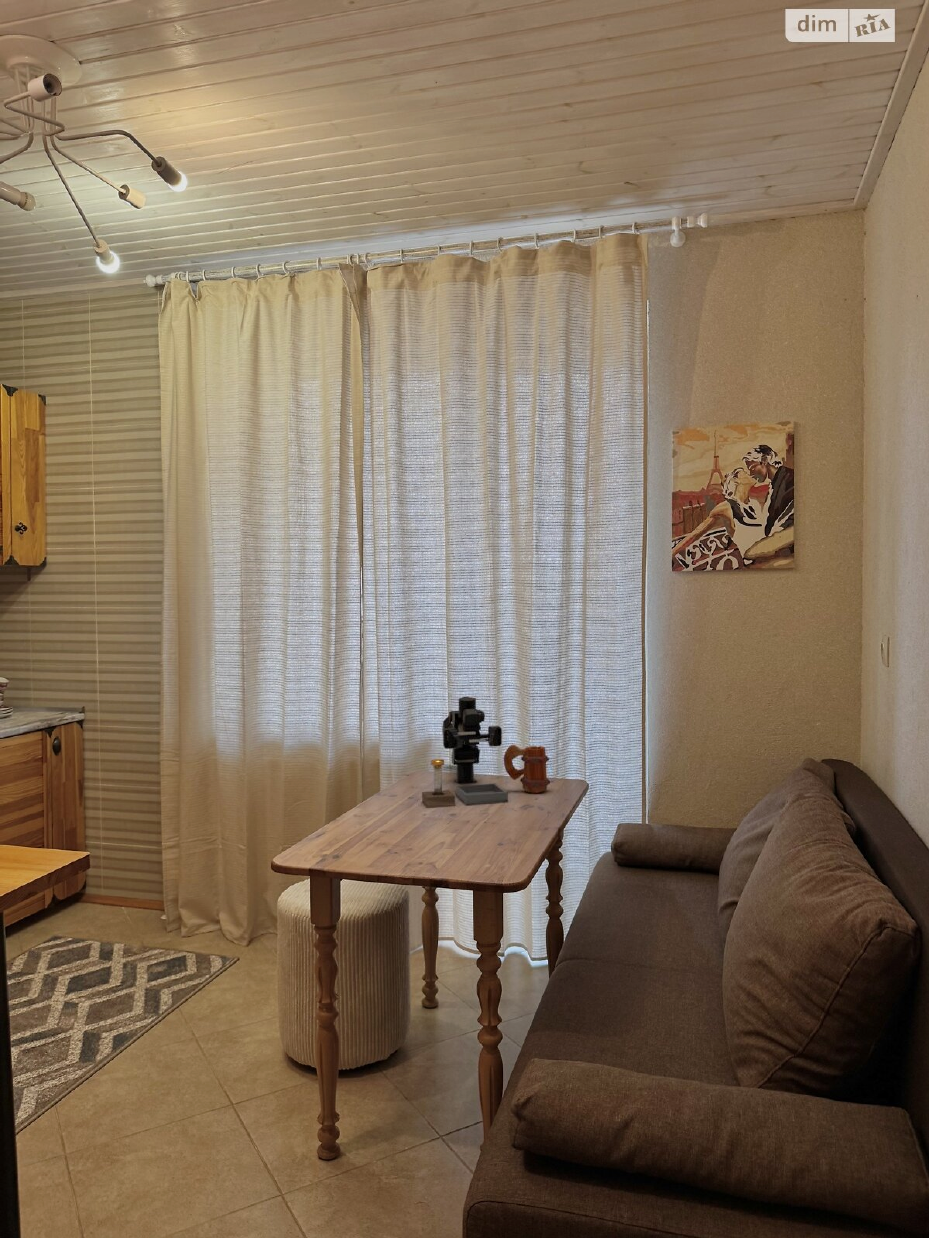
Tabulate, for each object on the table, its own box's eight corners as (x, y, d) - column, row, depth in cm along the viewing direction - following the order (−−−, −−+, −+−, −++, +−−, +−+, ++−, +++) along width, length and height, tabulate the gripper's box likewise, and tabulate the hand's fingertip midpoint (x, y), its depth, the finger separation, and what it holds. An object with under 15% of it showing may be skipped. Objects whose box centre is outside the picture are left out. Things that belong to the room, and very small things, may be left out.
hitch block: (422, 801, 280) (422, 791, 280) (448, 799, 282) (448, 789, 282) (427, 807, 272) (427, 797, 272) (455, 805, 274) (454, 795, 273)
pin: (430, 802, 278) (429, 759, 278) (443, 801, 279) (442, 758, 279) (433, 805, 274) (432, 761, 274) (446, 804, 275) (445, 761, 275)
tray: (455, 795, 287) (455, 786, 287) (495, 792, 290) (495, 783, 290) (466, 805, 274) (466, 795, 273) (507, 802, 277) (507, 792, 277)
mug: (550, 788, 294) (549, 742, 294) (550, 794, 286) (549, 746, 285) (505, 788, 295) (504, 742, 295) (503, 794, 287) (502, 747, 287)
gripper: (440, 708, 296) (446, 720, 280) (496, 705, 298) (506, 718, 283) (440, 741, 297) (447, 755, 282) (496, 738, 300) (506, 752, 285)
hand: (476, 744), depth 283 cm, fingers open, 9 cm apart
